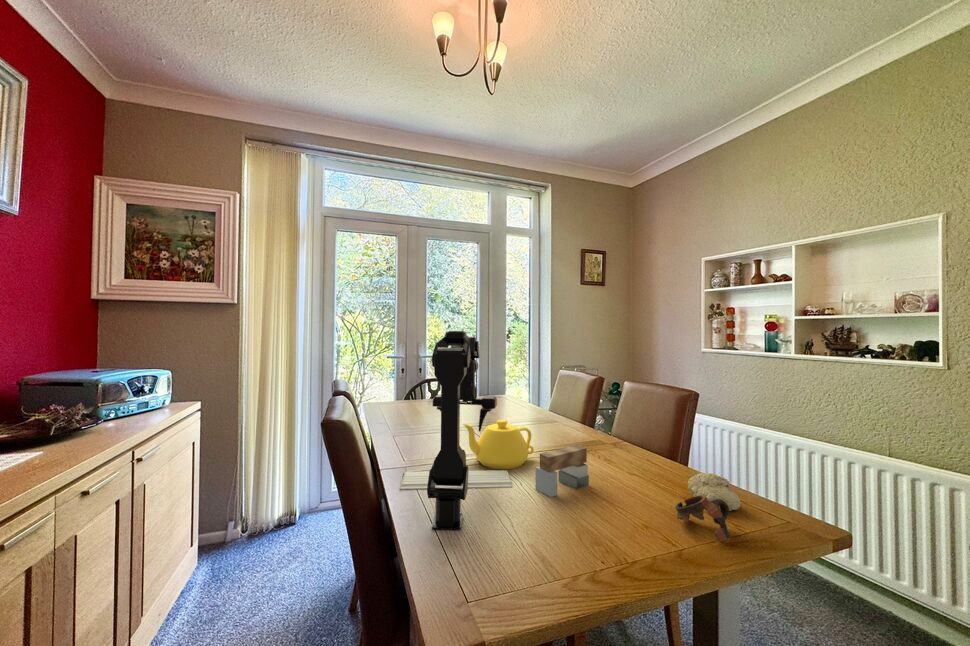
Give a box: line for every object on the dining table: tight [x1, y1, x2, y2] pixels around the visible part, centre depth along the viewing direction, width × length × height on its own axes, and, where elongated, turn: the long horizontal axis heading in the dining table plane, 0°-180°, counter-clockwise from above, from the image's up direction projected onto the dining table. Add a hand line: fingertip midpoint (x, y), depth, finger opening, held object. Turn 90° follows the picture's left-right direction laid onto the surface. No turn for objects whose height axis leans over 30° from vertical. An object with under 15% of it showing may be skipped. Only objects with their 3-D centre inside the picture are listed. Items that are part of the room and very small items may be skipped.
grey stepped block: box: [558, 463, 590, 491], centre depth 107 cm, size 5×7×6 cm
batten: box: [539, 444, 588, 472], centre depth 104 cm, size 15×4×4 cm, turn 124°
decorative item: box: [687, 472, 741, 512], centre depth 95 cm, size 12×9×10 cm
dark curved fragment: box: [674, 495, 730, 543], centre depth 83 cm, size 12×10×8 cm
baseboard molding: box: [400, 469, 513, 491], centre depth 107 cm, size 31×3×12 cm
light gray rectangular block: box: [535, 465, 558, 498], centre depth 101 cm, size 2×6×6 cm, turn 34°
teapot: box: [462, 419, 535, 470], centre depth 124 cm, size 25×18×14 cm
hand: (464, 430), depth 110 cm, fingers open, 9 cm apart
